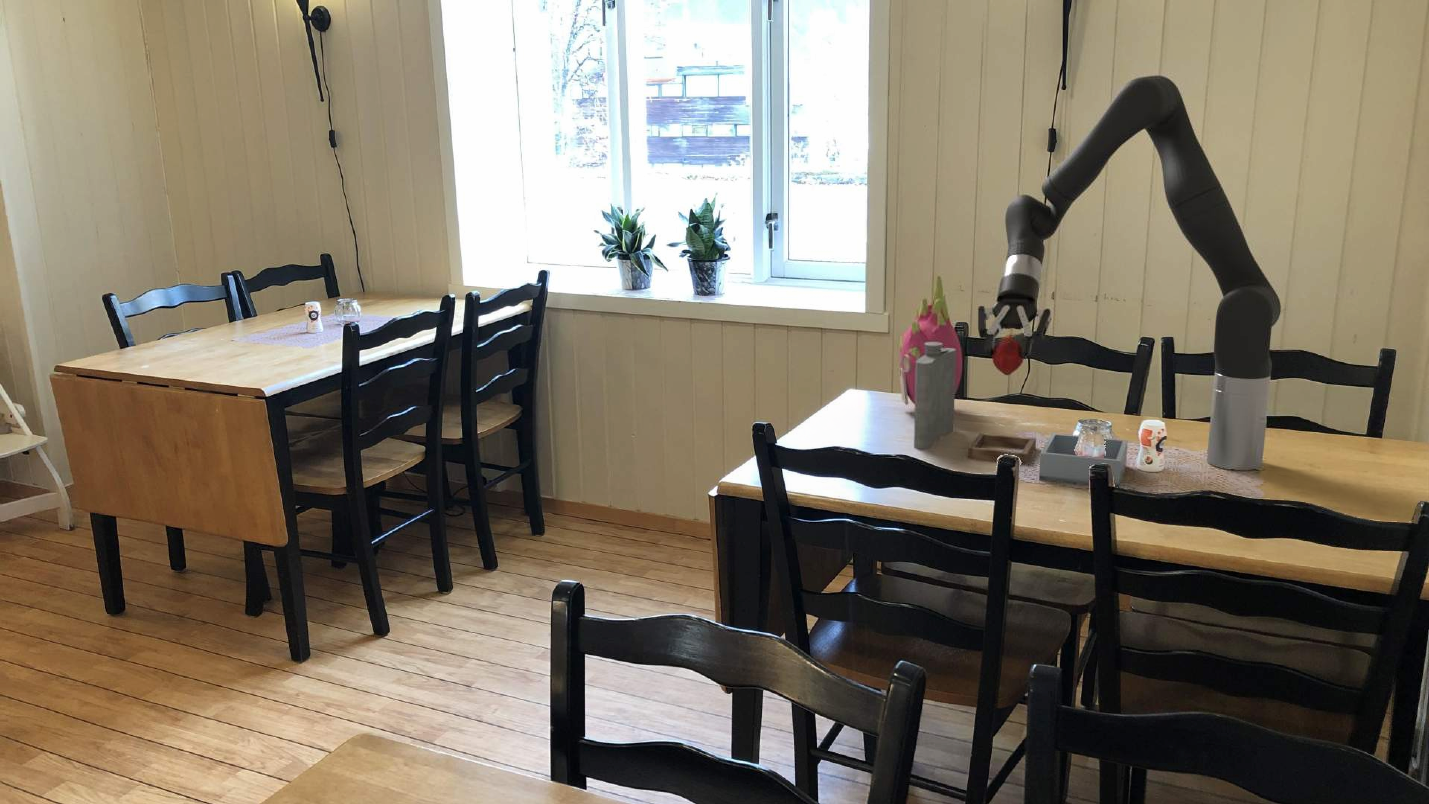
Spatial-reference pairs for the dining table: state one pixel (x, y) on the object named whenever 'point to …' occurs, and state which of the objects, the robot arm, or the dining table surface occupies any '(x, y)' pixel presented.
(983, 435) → the tray
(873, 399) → the dining table surface
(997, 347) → the onion
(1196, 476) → the dining table surface
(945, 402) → the hip flask
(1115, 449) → the bin
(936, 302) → the pink dragon fruit
